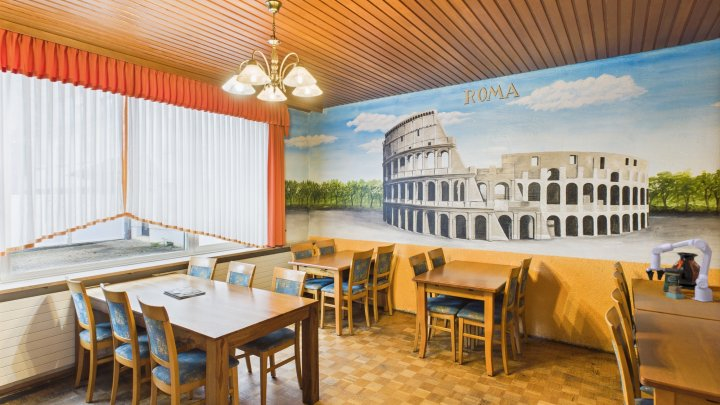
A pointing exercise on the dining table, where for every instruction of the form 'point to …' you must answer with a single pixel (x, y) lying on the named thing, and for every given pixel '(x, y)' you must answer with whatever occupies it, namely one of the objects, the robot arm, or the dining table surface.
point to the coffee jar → (671, 278)
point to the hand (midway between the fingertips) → (655, 280)
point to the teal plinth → (675, 295)
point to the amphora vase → (687, 270)
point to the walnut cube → (674, 289)
